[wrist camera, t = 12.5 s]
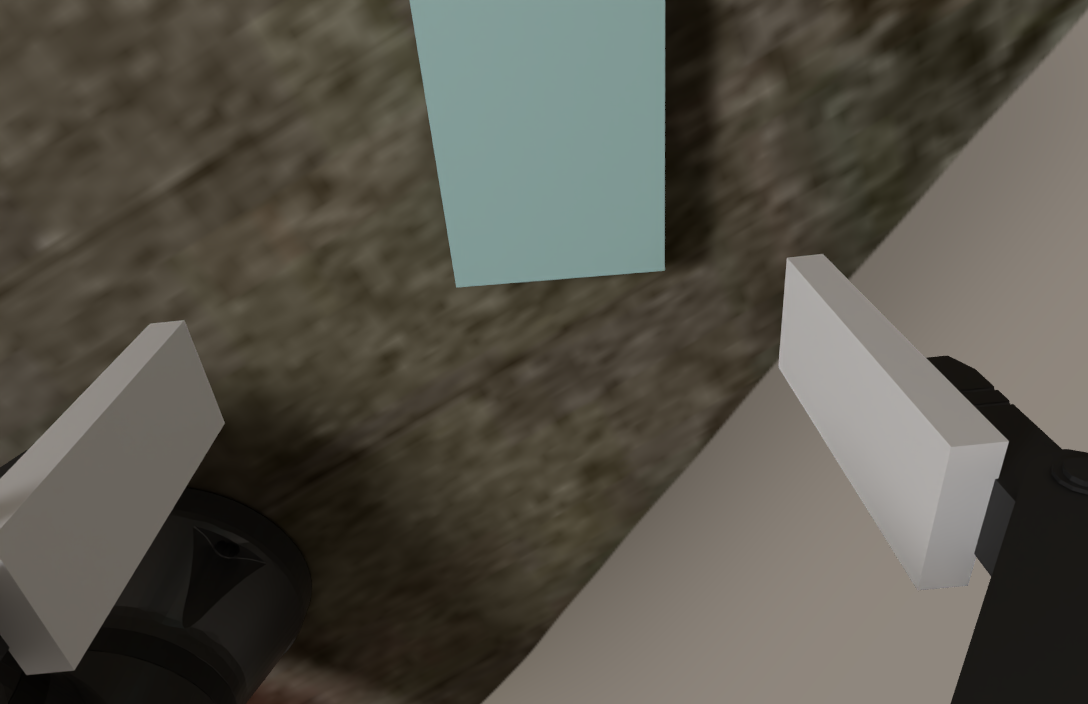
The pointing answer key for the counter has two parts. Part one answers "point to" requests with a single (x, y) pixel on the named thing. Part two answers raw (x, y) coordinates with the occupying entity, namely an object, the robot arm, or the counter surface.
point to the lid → (547, 135)
